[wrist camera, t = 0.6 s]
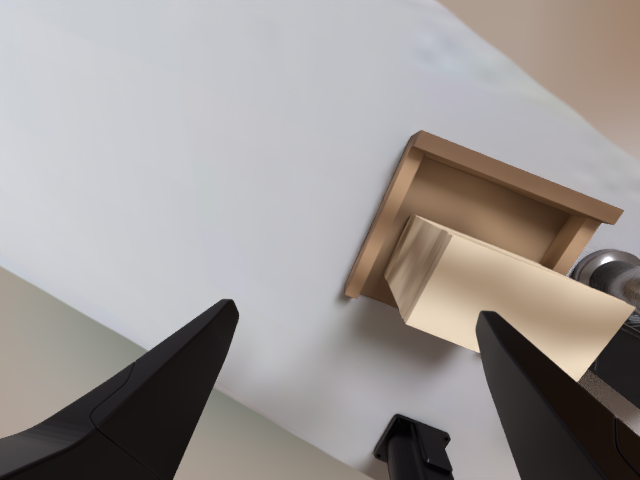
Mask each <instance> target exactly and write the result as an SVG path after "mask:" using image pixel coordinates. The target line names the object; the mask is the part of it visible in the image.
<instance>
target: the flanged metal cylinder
mask: <svg viewBox="0 0 640 480" xmlns="http://www.w3.org/2000/svg"><path fill="white" fill-rule="evenodd" d="M572 279H573V280H575V281H577V282H580V283H582V284H584V285H586V286H589V287H591V288H594V289H596V290H599V291H601V292H604V293H606V294H609V295H611V296H613V297H616V298H618V299H620V300H622V301H625V302H626V303H627V304H629V305H631V306H634V307H636V308H635V310H634V311H633V312H632V313H634V314H636V315H638V316H640V259H638V258H637V257H636V256H634V255H632V254H630V253H627V252H623V251H619V250H615V249H604V250H599V251H596V252H594V253H591V254H590V255H588V256H586V257H585V258H584V259H582V260H581V261H580V262H579V264H578V265H577V266H576V268H575V269H574V272H573V274H572Z"/></svg>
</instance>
